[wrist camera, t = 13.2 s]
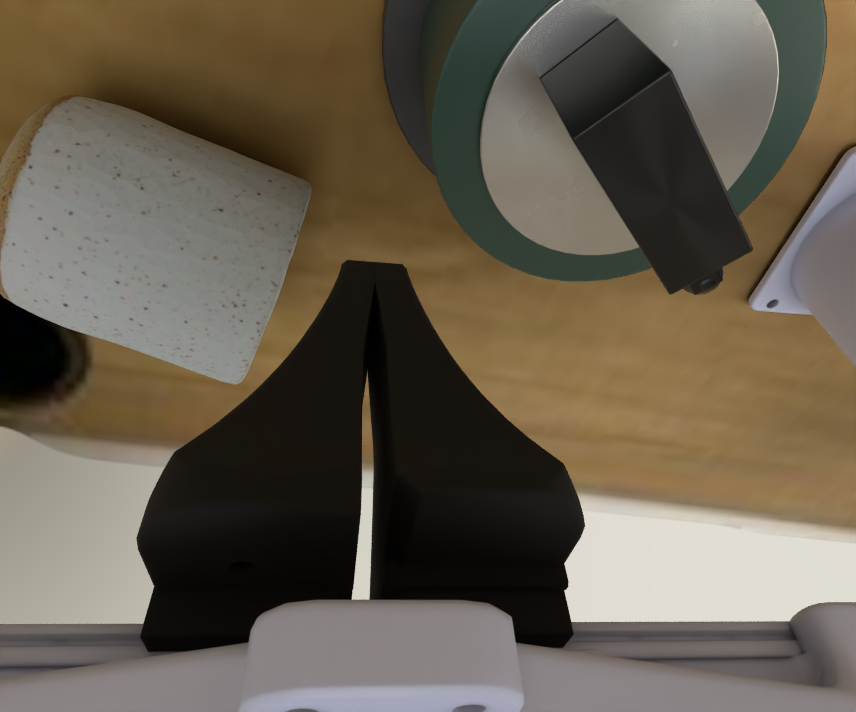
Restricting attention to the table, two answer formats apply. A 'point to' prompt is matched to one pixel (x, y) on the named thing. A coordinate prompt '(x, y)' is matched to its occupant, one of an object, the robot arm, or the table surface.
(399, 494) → the robot arm
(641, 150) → the kettle
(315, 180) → the table surface
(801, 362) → the table surface
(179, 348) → the ceramic mug
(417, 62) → the kettle base
